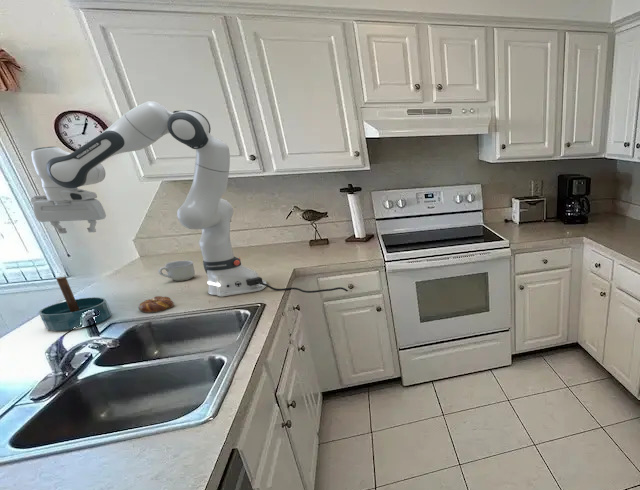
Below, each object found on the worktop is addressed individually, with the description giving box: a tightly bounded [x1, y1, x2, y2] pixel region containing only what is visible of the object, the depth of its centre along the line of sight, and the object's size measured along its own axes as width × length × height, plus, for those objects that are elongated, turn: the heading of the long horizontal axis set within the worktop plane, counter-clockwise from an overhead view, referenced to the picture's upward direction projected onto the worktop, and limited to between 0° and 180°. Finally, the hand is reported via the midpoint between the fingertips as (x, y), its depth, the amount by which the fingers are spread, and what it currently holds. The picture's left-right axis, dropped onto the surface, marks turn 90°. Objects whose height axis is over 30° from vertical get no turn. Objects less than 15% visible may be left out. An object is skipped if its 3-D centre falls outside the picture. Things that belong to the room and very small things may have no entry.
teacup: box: [158, 259, 196, 282], centre depth 194 cm, size 14×11×8 cm
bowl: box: [38, 296, 112, 332], centre depth 148 cm, size 17×17×6 cm
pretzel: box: [137, 295, 175, 313], centre depth 161 cm, size 12×11×4 cm
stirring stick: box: [55, 276, 80, 312], centre depth 145 cm, size 4×4×16 cm
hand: (78, 232), depth 154 cm, fingers open, 8 cm apart
